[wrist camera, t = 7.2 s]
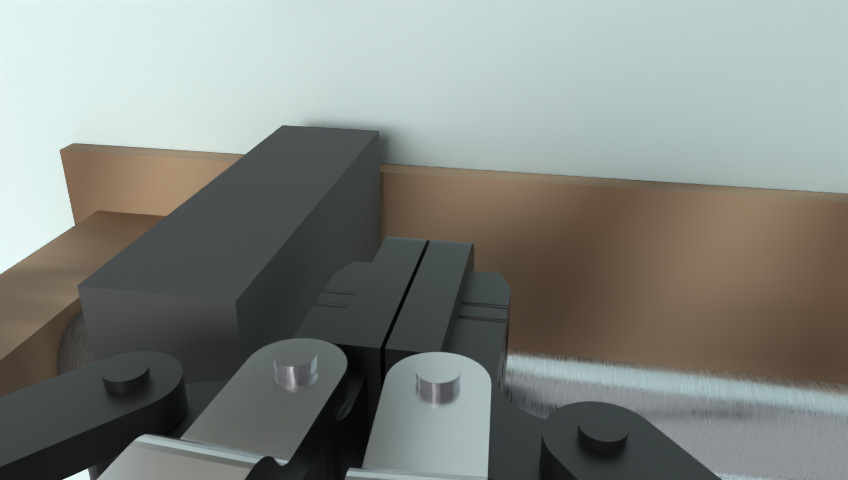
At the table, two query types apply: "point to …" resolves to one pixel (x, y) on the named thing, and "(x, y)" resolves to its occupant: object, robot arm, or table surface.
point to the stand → (517, 260)
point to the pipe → (669, 408)
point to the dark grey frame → (241, 254)
